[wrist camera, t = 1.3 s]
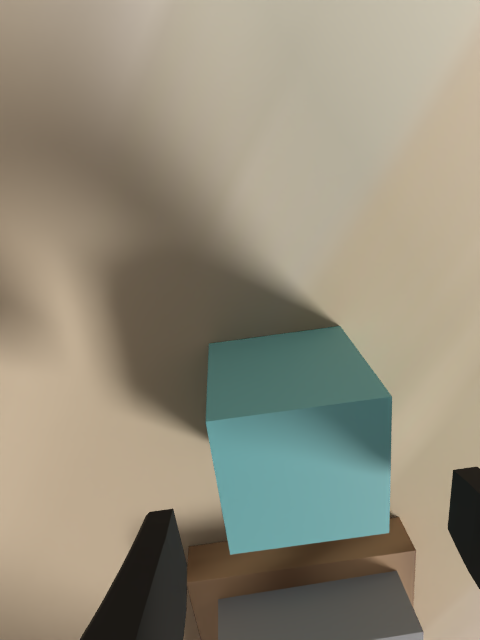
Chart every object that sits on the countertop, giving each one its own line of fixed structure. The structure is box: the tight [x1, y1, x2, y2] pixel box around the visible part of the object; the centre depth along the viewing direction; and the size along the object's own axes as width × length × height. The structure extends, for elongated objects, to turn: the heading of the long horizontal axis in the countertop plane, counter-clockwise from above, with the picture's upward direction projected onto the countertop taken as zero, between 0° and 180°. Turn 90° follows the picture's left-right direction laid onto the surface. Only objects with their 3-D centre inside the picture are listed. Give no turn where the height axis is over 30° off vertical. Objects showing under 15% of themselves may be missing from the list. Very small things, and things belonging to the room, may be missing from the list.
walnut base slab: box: [187, 517, 416, 640], centre depth 21 cm, size 10×10×2 cm
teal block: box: [206, 326, 392, 555], centre depth 14 cm, size 5×5×5 cm
